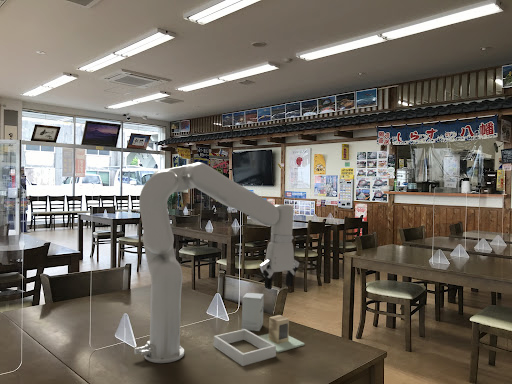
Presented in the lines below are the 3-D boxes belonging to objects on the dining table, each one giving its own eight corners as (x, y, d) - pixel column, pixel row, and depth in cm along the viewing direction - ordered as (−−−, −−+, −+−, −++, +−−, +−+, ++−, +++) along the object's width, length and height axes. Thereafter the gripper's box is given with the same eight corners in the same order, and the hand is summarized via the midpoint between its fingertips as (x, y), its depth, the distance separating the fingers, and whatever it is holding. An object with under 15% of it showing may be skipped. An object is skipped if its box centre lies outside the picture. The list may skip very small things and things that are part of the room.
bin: (242, 366, 122) (242, 354, 122) (213, 346, 137) (213, 335, 137) (275, 356, 130) (275, 345, 129) (244, 338, 144) (245, 328, 144)
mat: (277, 352, 133) (277, 350, 133) (253, 338, 144) (253, 337, 144) (304, 345, 140) (304, 343, 140) (279, 332, 151) (279, 330, 151)
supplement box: (259, 331, 152) (260, 298, 151) (241, 329, 153) (241, 297, 153) (263, 325, 159) (264, 293, 159) (245, 323, 160) (246, 292, 160)
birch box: (268, 339, 142) (269, 317, 142) (279, 336, 145) (280, 314, 145) (277, 344, 138) (278, 321, 138) (288, 341, 141) (289, 319, 141)
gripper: (292, 237, 149) (290, 282, 149) (255, 238, 139) (253, 287, 139) (306, 239, 143) (304, 287, 143) (268, 241, 133) (265, 292, 133)
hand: (278, 287), depth 141 cm, fingers open, 9 cm apart
